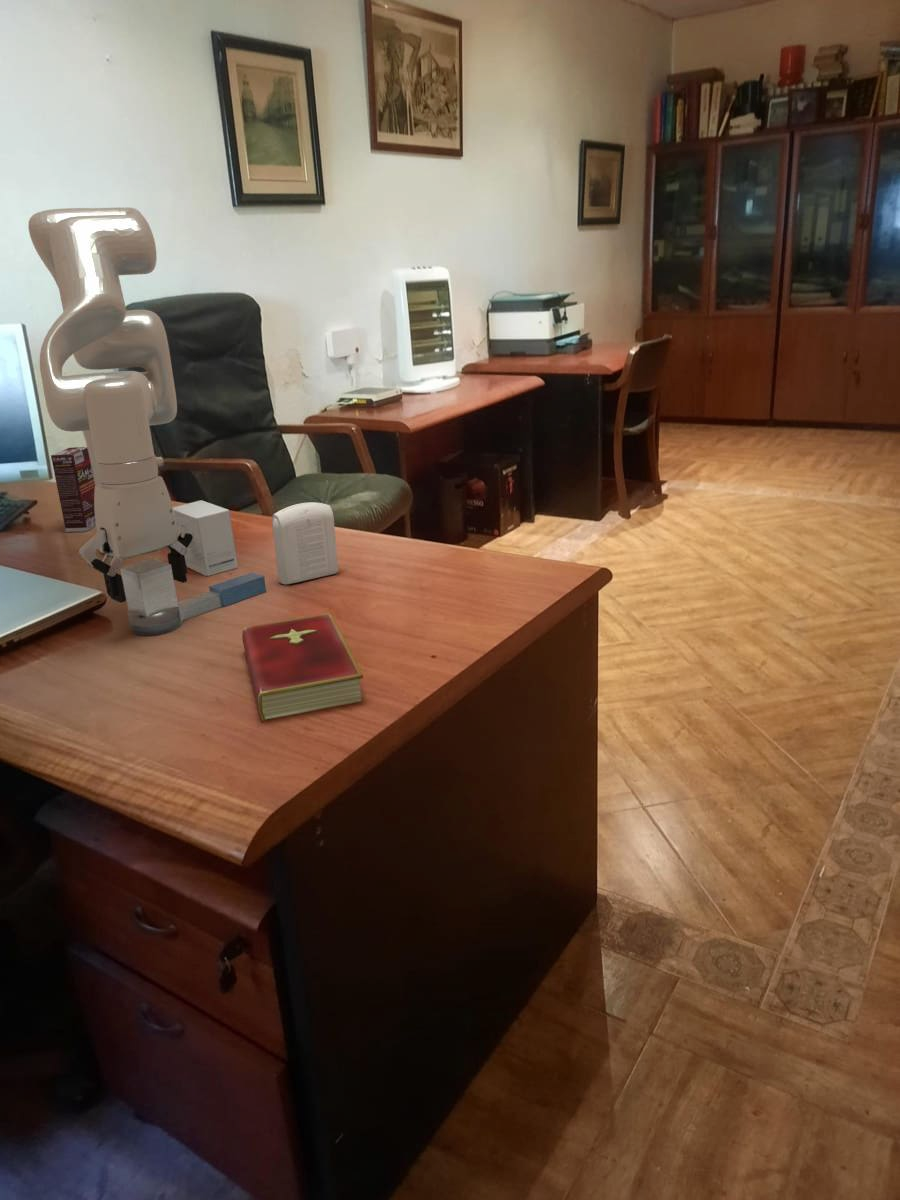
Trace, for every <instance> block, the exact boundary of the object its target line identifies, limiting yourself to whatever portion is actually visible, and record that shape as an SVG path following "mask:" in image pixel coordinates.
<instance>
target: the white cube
mask: <svg viewBox="0 0 900 1200" xmlns="http://www.w3.org/2000/svg"><path fill="white" fill-rule="evenodd" d="M119 569H120V573H121V574H120V575H121V576H122V580H123V585H124V590H125V596H126V605H127V611H128V610H129V611H132V612H134V613H137V614H139V615H142V616H145V617H150V616H153V615H156V614H158V613H161V612H164V611H167V610H170V609H173V608H176V607H178V598H177V593H176V592H177V591H176V586H175V580H173V574H172V568H171V564H169V562H168V563H167V562H165V561H160V560H158V559H154V558H149V559H145V560H142V561H138V562H136V563H133V564H129V565H125V566H122V567H120V568H119Z"/></svg>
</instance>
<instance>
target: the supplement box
mask: <svg viewBox="0 0 900 1200" xmlns="http://www.w3.org/2000/svg"><path fill="white" fill-rule="evenodd" d="M50 458H51V463H52V469H53V474H54V479H55V483H56V487H57V494H58V498H59V504H60V509H61V513H62V519H63V524H64V529H65V530H64V531H65V533H84V532H89V531H90V530H91V529H93V528H94V527H96V522H95V510H94V492H95V483H94V478H93V472H92V467H91V462H90V458H89V453H88V449H87V446H76V447H68V448H66V449H63V450H61V451H58V452H56V453H54V454H51V455H50Z"/></svg>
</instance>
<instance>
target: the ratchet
mask: <svg viewBox="0 0 900 1200" xmlns="http://www.w3.org/2000/svg"><path fill="white" fill-rule="evenodd" d="M208 588H209V591H207V592H204V593H201V594H199V595H195V596H193V597H190V598H186V599H184V600H181V601H177V603H178V607H176V608H173V609H170V610H167V611H164V612H161V613H158V614H156V615H153V616H150V617H145V616H142V615H139V614H137V613H134V612H132V611H129V610H128V609H127V617H128V621H129V627H130V631H131V633H132V634H133V635H135V636H138V637H151V636H161V635H164V634H168V633H170V632H173V631H175V630H177V629H178V628H180V626H181V625H182V622H183V621H185V620H186V621H187V620H189V619H191V618H193V617H196V616H199V615H202V614H204V613H208V612H210V611H214V610H215V609H219V608H221V607H227V606H230V605H232V604H235V603H238V602H242V601H244V600H247V599H250V598H252V597H255V596H258V595H260V594H264V593H266V592H267V586H266V581H265V575H263V574H259V573H255V572H249V573H246V574H243V575H241V576H237V577H234V578H232V579H228V580H225V581H222V582H219V583H217V584H213V585H210V586H208Z"/></svg>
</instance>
